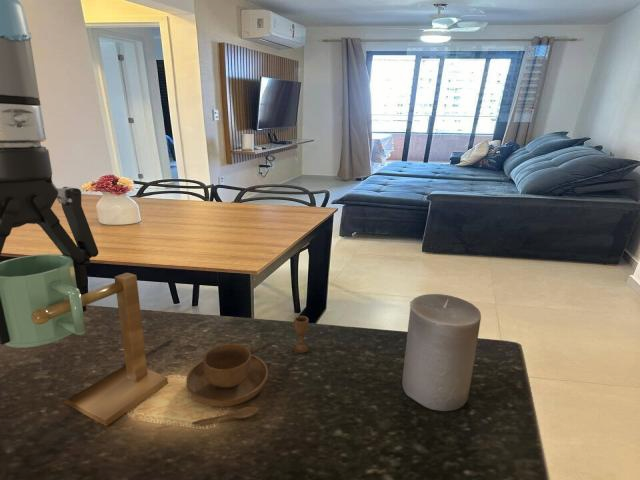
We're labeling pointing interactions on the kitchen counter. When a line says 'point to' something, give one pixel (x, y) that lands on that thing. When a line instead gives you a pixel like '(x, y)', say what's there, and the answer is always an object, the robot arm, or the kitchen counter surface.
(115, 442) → the kitchen counter surface
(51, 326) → the mug
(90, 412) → the mug stand
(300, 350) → the place setting
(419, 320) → the pillar candle
